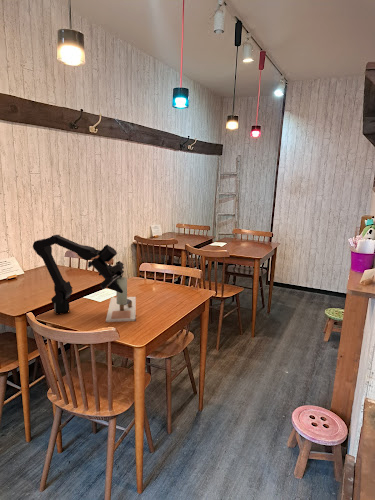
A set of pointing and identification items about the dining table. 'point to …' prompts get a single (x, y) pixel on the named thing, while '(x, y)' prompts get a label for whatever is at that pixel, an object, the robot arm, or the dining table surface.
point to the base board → (116, 307)
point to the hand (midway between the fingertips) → (124, 290)
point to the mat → (120, 314)
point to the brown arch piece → (126, 304)
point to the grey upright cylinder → (123, 285)
